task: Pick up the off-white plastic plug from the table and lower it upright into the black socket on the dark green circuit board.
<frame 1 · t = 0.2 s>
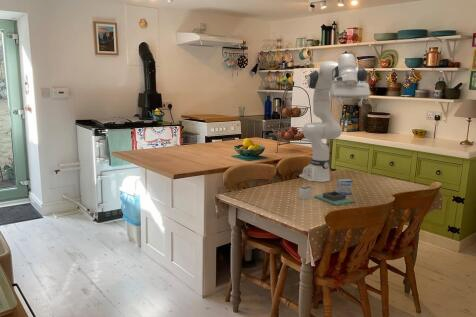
hand: (351, 105, 201), 54 cm above the table, tool tilted 30°, fingers open, 8 cm apart
header board: (334, 199, 221), on the table
keyed plug: (304, 198, 224), on the table
medicine box: (343, 194, 234), on the table
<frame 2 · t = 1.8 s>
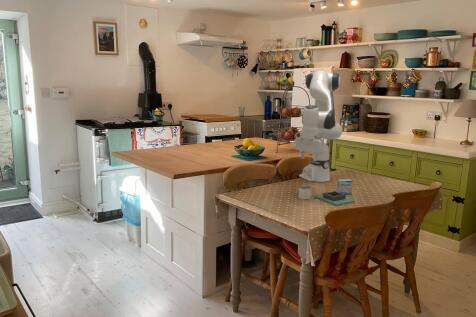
hand: (308, 159, 219), 23 cm above the table, tool pointing down, fingers open, 8 cm apart
nothing on the table moved.
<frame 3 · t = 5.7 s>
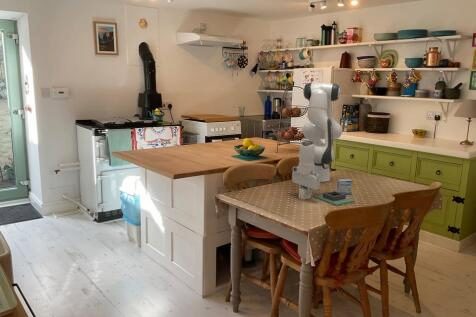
hand: (305, 193, 224), 3 cm above the table, tool pointing down, fingers closed on keyed plug, 4 cm apart
keyed plug: (304, 197, 224), on the table, touching gripper
everything else where it was.
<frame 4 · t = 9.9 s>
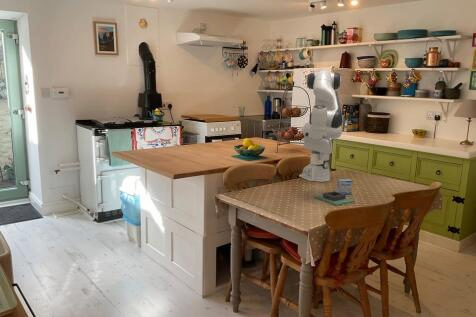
hand: (317, 159, 219), 23 cm above the table, tool pointing down, fingers closed on keyed plug, 4 cm apart
keyed plug: (316, 163, 219), point 20 cm above the table, touching gripper
everything else where it was.
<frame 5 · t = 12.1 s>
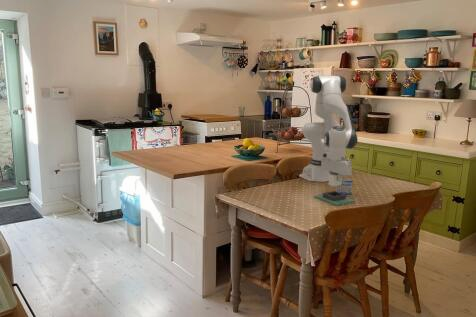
hand: (335, 180, 219), 12 cm above the table, tool pointing down, fingers closed on keyed plug, 4 cm apart
keyed plug: (334, 184, 219), point 9 cm above the table, touching gripper
everything else where it was.
when the fingers open (5 cm above the table, at t = 13.9 s): keyed plug drops 1 cm, resting on header board.
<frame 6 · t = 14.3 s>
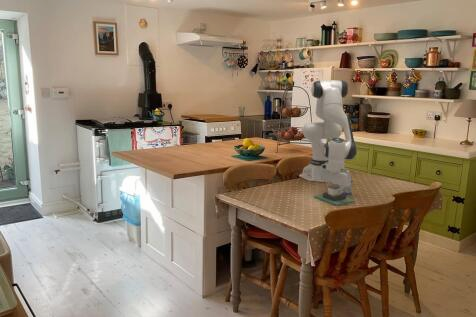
hand: (334, 191, 220), 5 cm above the table, tool pointing down, fingers open, 8 cm apart
keyed plug: (334, 198, 221), point 1 cm above the table, touching header board
everything else where it was.
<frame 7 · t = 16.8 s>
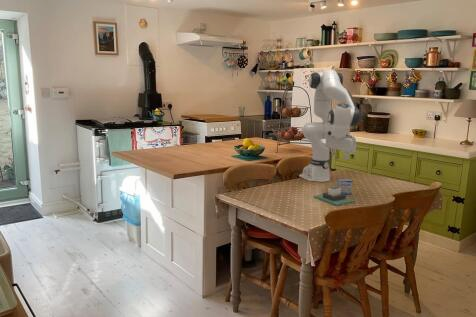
hand: (339, 157, 220), 24 cm above the table, tool pointing down, fingers open, 8 cm apart
nothing on the table moved.
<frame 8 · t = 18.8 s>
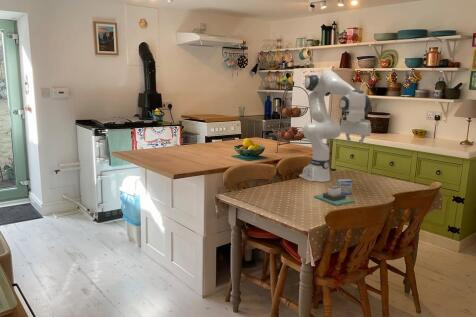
hand: (354, 142, 229), 31 cm above the table, tool pointing down, fingers open, 8 cm apart
nothing on the table moved.
at the end: keyed plug 0.0 cm off-centre on the header board, point 1.0 cm above the header board's base; keyed plug tilted 0°; the gripper is holding nothing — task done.
